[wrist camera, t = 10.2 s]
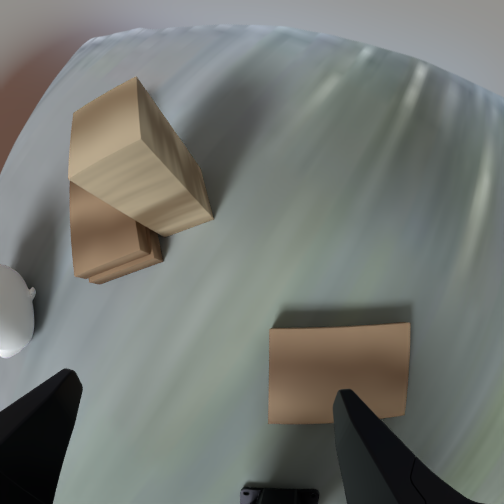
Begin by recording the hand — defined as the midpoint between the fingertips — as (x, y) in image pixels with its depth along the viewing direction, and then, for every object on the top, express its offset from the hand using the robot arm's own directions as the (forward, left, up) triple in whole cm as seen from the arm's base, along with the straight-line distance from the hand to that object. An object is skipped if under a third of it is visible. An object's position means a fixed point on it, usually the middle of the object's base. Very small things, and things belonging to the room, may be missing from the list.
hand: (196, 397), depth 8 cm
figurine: (+1, +27, -13) cm, 30 cm away
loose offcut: (-2, -6, -13) cm, 14 cm away
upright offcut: (+12, +6, -13) cm, 19 cm away
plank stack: (+14, +14, -13) cm, 23 cm away
